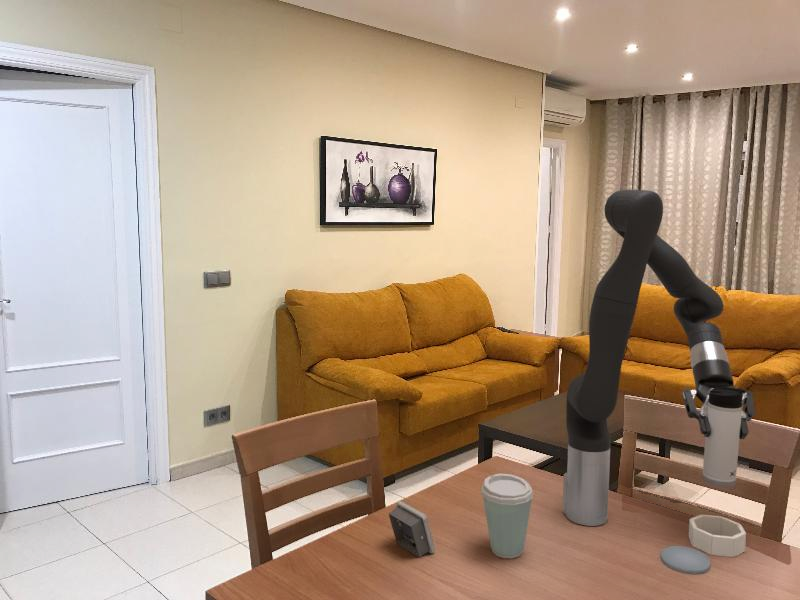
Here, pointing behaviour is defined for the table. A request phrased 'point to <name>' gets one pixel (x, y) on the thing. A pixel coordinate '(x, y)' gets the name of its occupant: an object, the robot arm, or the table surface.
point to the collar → (717, 535)
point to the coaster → (685, 559)
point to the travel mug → (723, 436)
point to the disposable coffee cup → (507, 513)
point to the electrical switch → (411, 529)
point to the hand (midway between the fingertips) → (725, 436)
